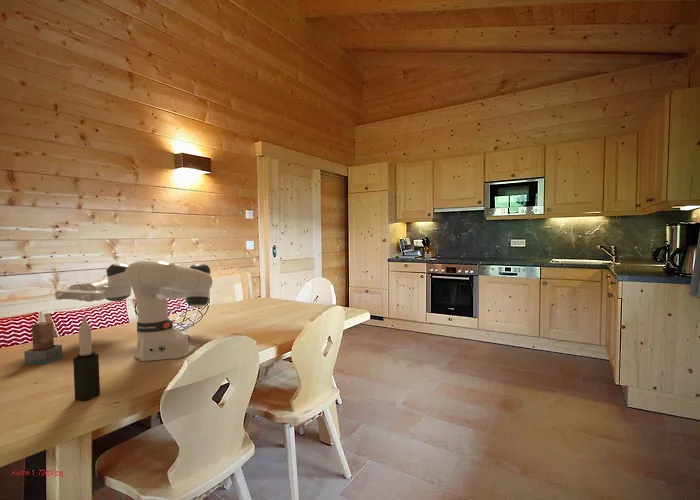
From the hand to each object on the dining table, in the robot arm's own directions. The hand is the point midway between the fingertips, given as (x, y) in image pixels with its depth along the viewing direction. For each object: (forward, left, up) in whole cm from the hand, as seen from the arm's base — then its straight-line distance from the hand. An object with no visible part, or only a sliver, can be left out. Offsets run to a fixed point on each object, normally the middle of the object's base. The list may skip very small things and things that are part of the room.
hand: (69, 298), depth 155 cm
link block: (0, +14, -21) cm, 26 cm away
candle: (-41, +49, -23) cm, 68 cm away
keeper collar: (0, +14, -22) cm, 27 cm away
